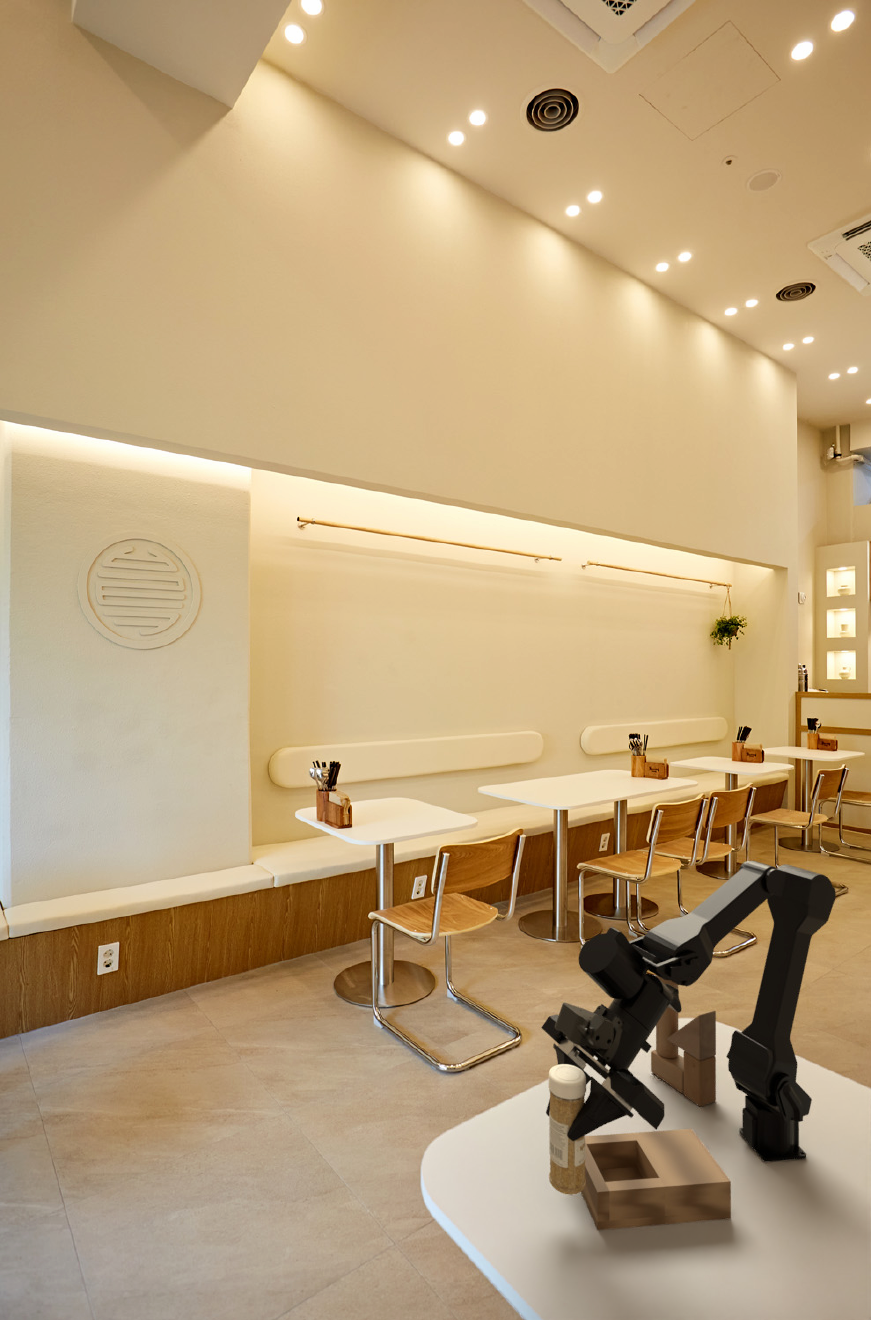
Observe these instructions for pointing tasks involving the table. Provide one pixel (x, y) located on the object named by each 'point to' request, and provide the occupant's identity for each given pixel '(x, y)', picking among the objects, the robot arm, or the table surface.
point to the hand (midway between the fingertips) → (559, 1127)
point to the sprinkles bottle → (566, 1129)
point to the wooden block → (687, 1054)
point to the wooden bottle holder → (653, 1180)
